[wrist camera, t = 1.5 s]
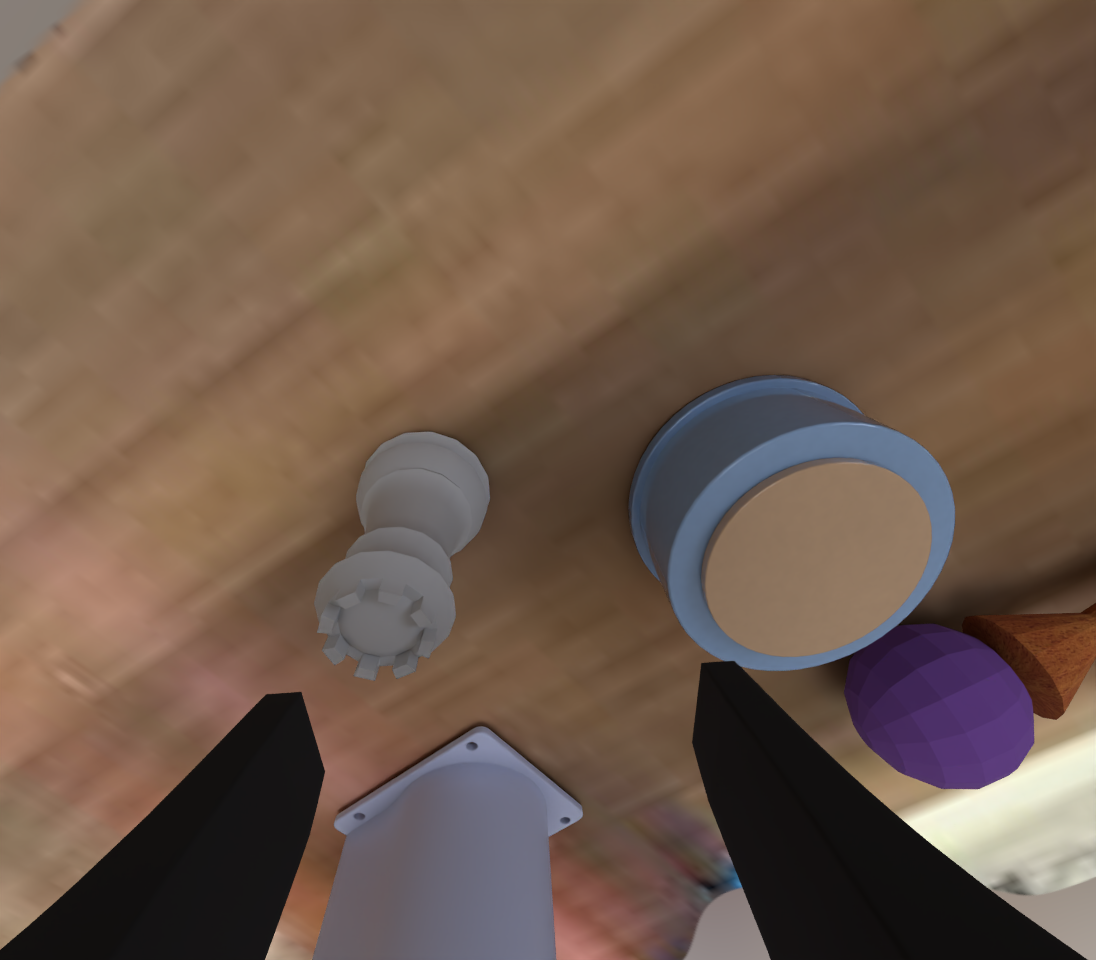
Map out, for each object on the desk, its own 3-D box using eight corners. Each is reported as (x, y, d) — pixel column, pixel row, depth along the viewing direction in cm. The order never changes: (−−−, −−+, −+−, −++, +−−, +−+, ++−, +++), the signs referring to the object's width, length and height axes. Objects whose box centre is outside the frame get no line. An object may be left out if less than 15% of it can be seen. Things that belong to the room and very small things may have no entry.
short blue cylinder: (706, 636, 23) (754, 730, 18) (578, 481, 19) (598, 551, 15) (909, 512, 21) (1017, 584, 16) (807, 316, 17) (908, 341, 13)
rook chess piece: (390, 551, 20) (320, 729, 13) (344, 443, 18) (232, 578, 11) (505, 524, 20) (501, 687, 12) (470, 412, 18) (443, 528, 11)
